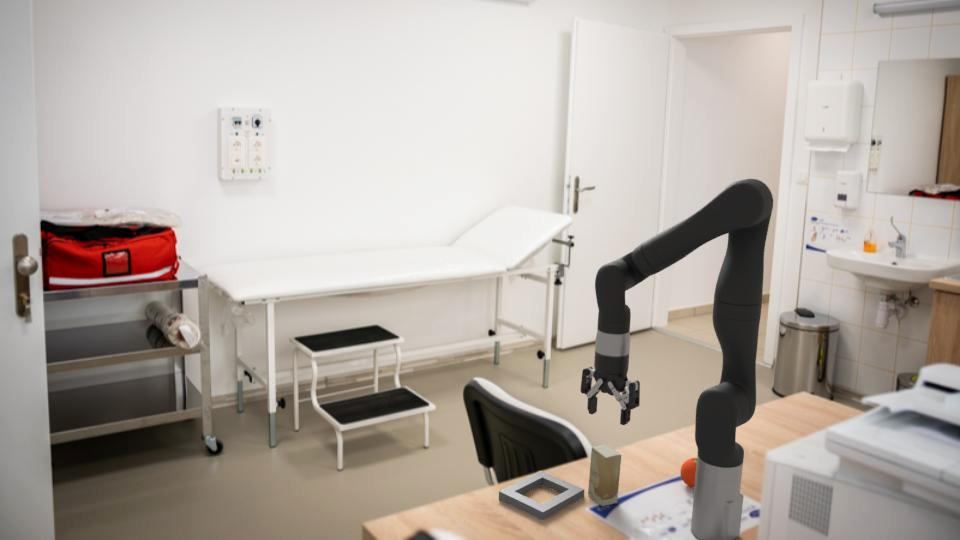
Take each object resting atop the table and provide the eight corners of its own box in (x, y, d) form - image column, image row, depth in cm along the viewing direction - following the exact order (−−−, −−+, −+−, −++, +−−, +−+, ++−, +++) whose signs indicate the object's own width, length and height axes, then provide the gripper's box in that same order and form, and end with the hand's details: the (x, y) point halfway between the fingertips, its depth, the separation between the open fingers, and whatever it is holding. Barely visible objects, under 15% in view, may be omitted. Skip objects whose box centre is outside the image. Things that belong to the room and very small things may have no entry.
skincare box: (587, 494, 185) (590, 445, 182) (603, 491, 187) (606, 442, 184) (602, 507, 179) (605, 457, 176) (618, 503, 181) (622, 454, 178)
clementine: (717, 493, 187) (720, 465, 185) (691, 497, 185) (694, 468, 183) (698, 478, 194) (701, 451, 193) (673, 481, 192) (676, 454, 191)
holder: (584, 497, 183) (584, 489, 183) (542, 520, 173) (543, 512, 172) (540, 478, 192) (540, 470, 192) (498, 499, 181) (499, 491, 181)
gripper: (649, 353, 173) (644, 423, 176) (595, 339, 183) (592, 405, 186) (630, 361, 168) (625, 432, 171) (576, 345, 177) (572, 414, 181)
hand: (608, 418), depth 179 cm, fingers open, 8 cm apart
